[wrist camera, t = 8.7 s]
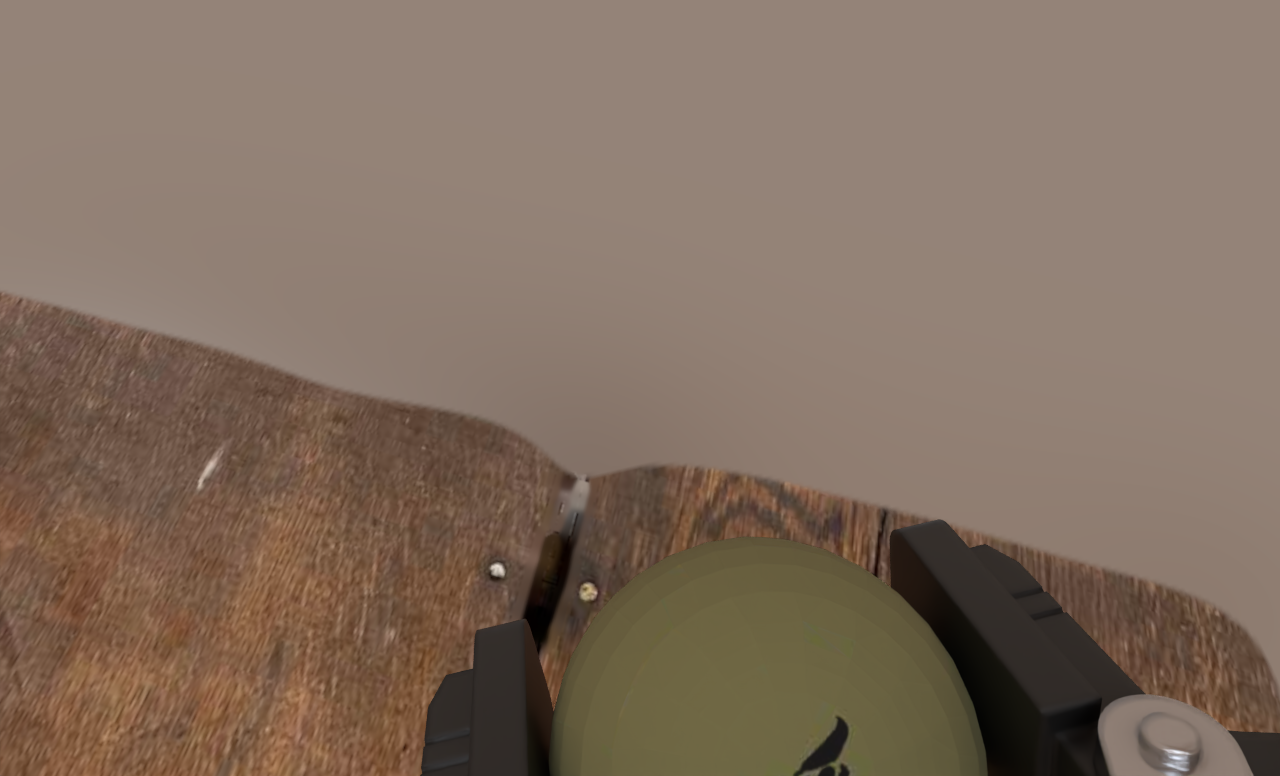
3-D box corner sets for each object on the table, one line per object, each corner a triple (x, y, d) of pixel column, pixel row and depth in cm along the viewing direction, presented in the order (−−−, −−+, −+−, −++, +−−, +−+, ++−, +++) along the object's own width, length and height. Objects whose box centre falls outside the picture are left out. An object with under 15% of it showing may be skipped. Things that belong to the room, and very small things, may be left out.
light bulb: (794, 909, 16) (1007, 1272, 6) (546, 790, 17) (413, 957, 7) (876, 644, 18) (1140, 624, 8) (648, 547, 18) (647, 424, 9)
